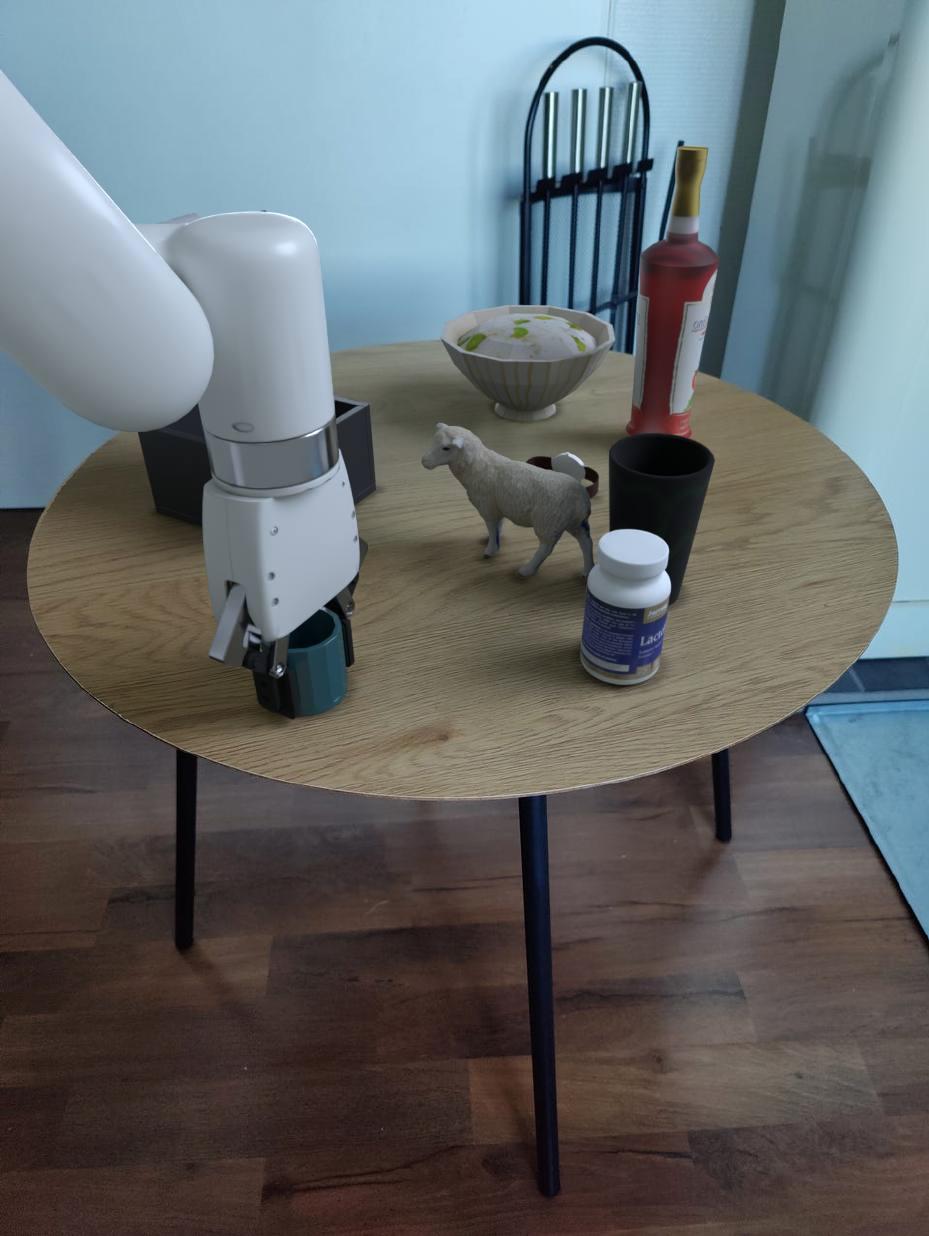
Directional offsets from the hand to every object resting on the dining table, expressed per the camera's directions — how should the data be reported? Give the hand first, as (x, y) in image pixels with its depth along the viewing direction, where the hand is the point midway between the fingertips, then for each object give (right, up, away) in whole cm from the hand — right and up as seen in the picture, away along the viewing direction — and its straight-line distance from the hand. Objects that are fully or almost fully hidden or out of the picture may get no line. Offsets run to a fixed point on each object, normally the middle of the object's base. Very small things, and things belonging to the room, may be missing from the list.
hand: (307, 682), depth 63 cm
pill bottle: (+22, +1, +3) cm, 22 cm away
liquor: (+31, +23, +33) cm, 51 cm away
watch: (+20, +17, +24) cm, 36 cm away
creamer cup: (0, -1, 0) cm, 1 cm away
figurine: (+15, +9, +14) cm, 23 cm away
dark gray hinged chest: (-8, +16, +23) cm, 29 cm away
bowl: (+18, +28, +41) cm, 53 cm away
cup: (+25, +7, +10) cm, 28 cm away
